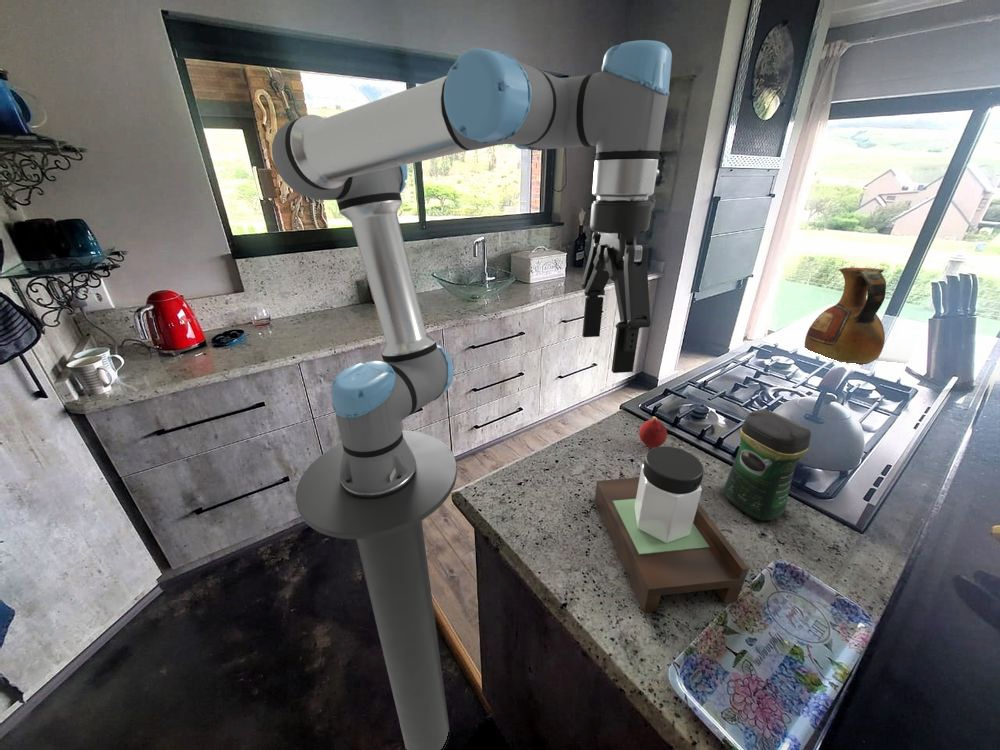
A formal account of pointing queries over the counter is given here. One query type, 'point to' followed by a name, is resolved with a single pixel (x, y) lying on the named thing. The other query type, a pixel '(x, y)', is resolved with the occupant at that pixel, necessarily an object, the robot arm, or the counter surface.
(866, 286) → the ceramic pitcher
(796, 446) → the coffee jar
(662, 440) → the onion
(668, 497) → the jar
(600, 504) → the shelf
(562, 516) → the counter surface
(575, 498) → the counter surface
